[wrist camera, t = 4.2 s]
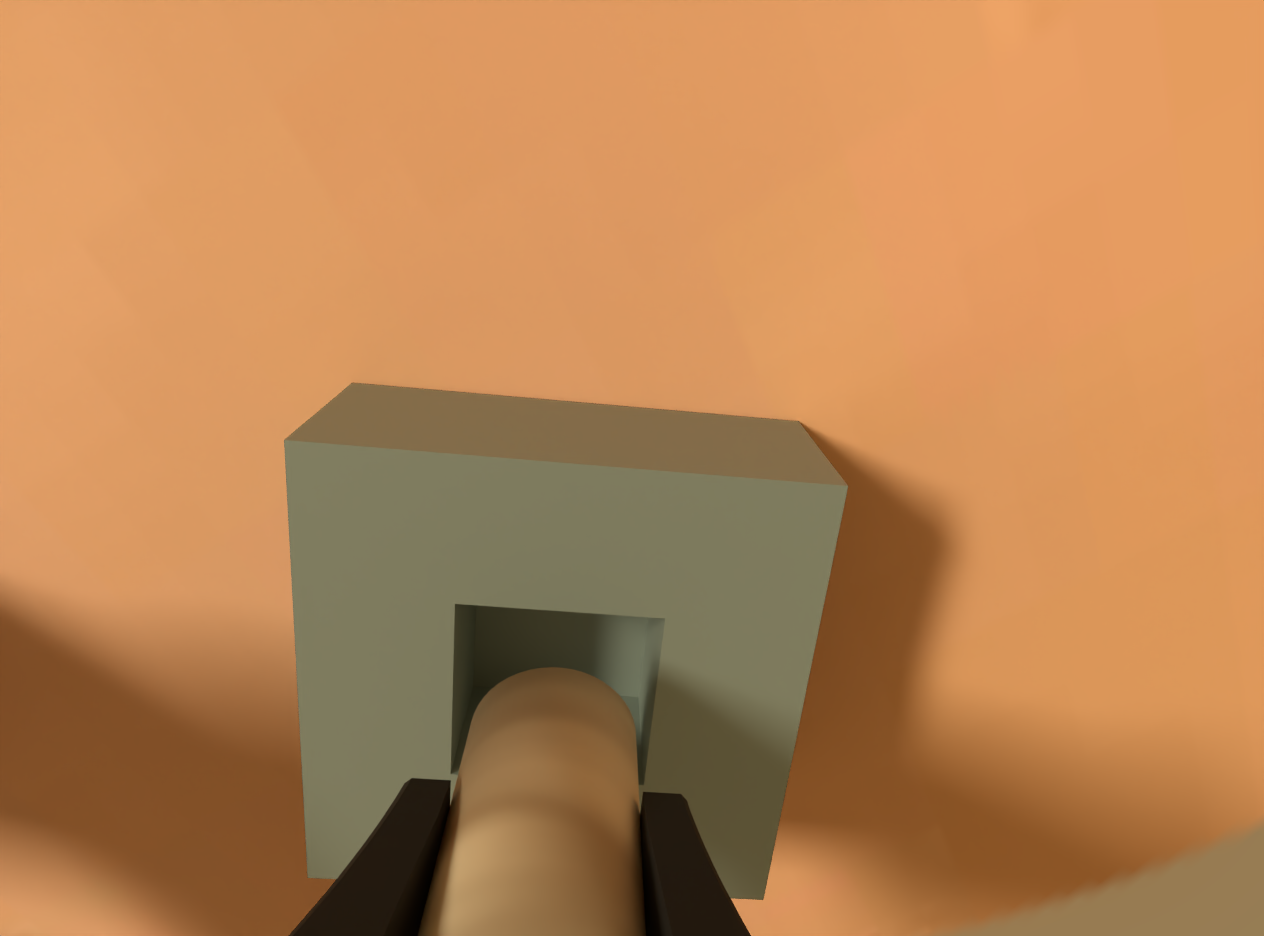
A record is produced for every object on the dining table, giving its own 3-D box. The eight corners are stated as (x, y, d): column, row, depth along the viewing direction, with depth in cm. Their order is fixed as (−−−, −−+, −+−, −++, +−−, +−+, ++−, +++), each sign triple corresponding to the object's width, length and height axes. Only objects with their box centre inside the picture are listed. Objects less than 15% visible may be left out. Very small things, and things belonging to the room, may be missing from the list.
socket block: (360, 751, 21) (307, 877, 17) (352, 382, 18) (284, 440, 14) (736, 773, 22) (763, 899, 18) (798, 421, 18) (848, 486, 15)
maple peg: (475, 805, 15) (370, 1295, 8) (464, 667, 14) (338, 1103, 7) (635, 802, 15) (656, 1286, 9) (636, 666, 14) (662, 1095, 7)
